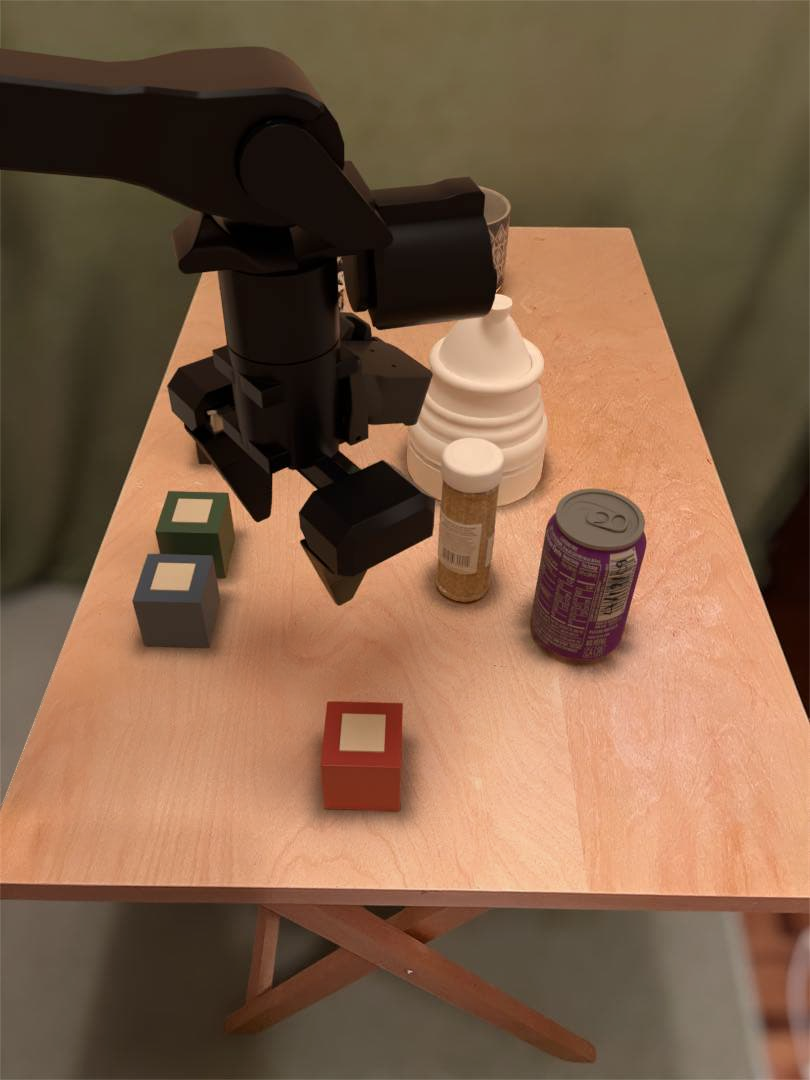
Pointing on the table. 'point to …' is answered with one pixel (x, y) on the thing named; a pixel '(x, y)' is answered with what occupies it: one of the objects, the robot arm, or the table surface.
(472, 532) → the sprinkles bottle
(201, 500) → the green block
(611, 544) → the beverage can
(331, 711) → the red cube
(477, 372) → the honey pot
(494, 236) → the planter
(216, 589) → the slate block
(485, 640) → the table surface
